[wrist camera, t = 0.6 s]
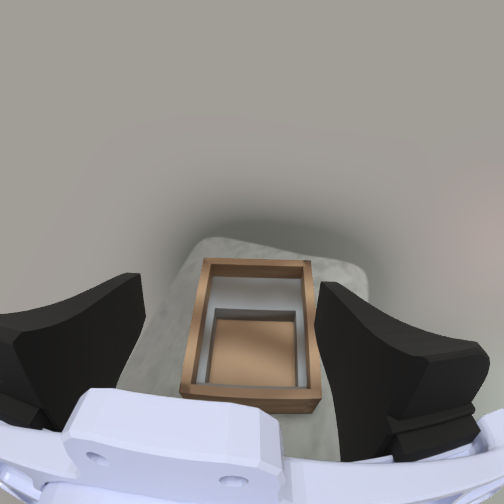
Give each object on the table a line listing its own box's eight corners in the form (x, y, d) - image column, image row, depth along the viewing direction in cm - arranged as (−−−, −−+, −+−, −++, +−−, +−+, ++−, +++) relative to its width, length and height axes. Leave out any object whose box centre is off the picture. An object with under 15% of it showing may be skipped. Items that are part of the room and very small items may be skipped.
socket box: (311, 413, 23) (321, 398, 20) (190, 407, 24) (178, 392, 21) (305, 288, 33) (310, 260, 30) (209, 285, 34) (204, 257, 30)
